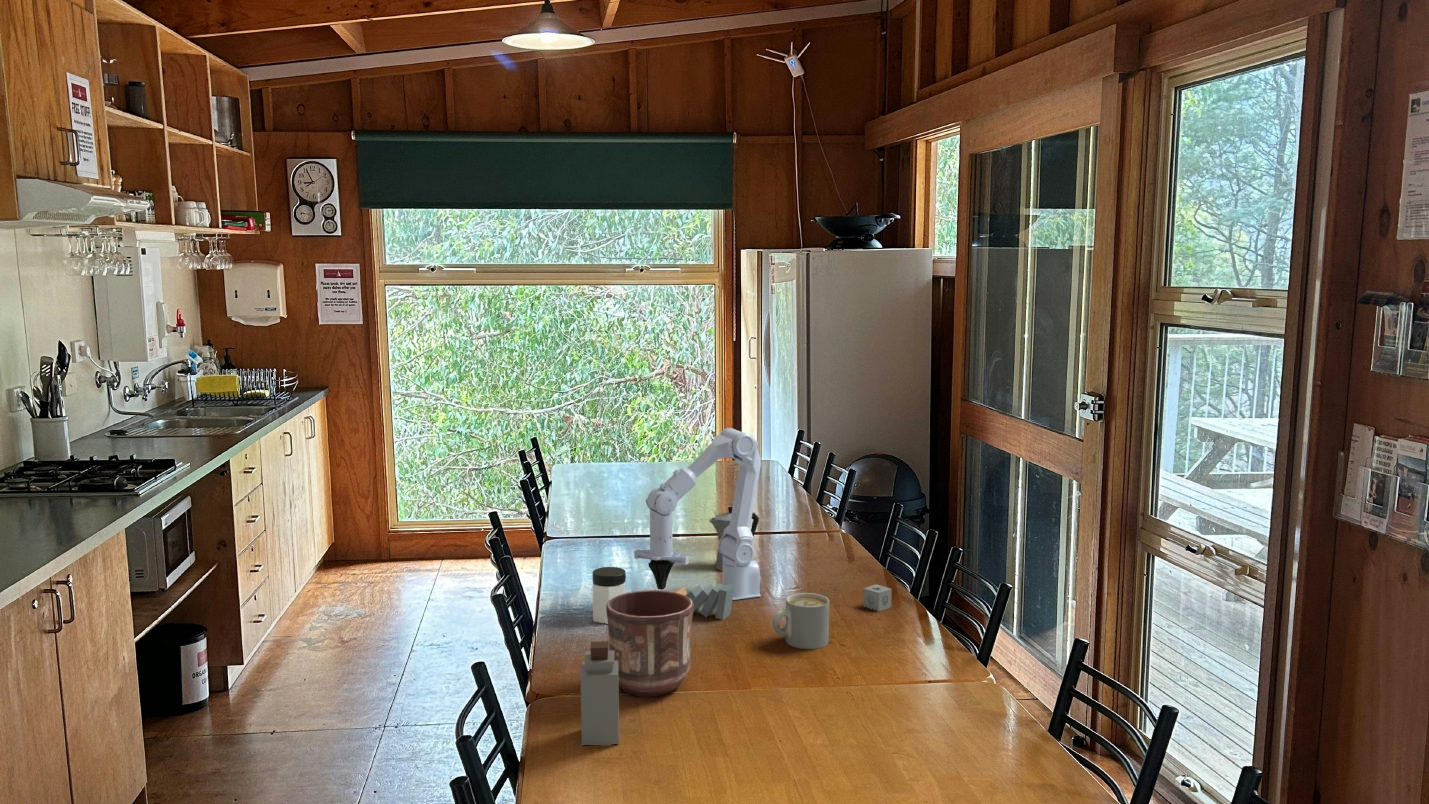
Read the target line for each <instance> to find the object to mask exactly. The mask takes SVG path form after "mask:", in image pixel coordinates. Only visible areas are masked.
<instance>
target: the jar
mask: <svg viewBox="0 0 1429 804" xmlns="http://www.w3.org/2000/svg"><path fill="white" fill-rule="evenodd" d="M626 572H627V571H626V570H625V569H624V568H621V567H619V566H603V567H598V568H595V569H593V571H592V621H593V622H595V623H599V624H604V623H605V624H604V625H608V620H607V612H606V604H607V603H608V601H609V600H610V599H612V598H614V597H616V596H619V595H622V594H625V593H626V578H627V575H626Z"/></svg>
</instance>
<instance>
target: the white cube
mask: <svg viewBox="0 0 1429 804" xmlns="http://www.w3.org/2000/svg"><path fill="white" fill-rule="evenodd" d="M862 602H863V604H862V606H864V607H863V608H865V607H867V608H866V609H868V608H869V609H870V610H872V609H873V610H872V611H875V610H876V611H875V612H879V611H880V612H882V611H885V610H889V609H890V607H891V608H892V588H890V587H887V586H883V585H881V584H873V585H870V586H866V587H864V588H863V601H862ZM869 609H868V610H869ZM884 609H885V610H884ZM881 610H882V611H881Z"/></svg>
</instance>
